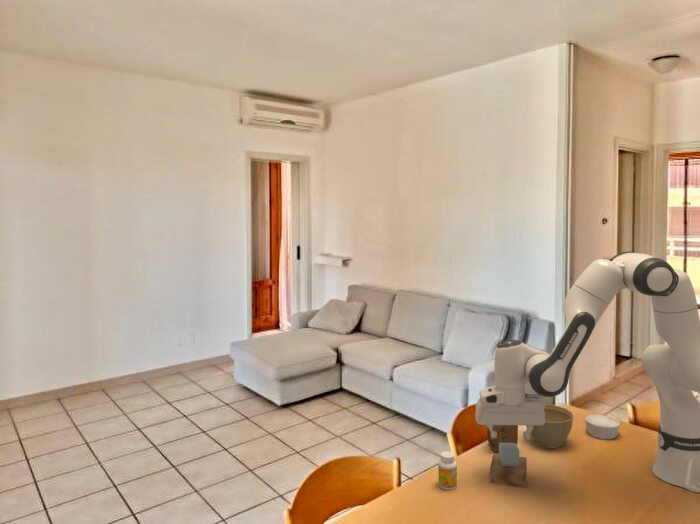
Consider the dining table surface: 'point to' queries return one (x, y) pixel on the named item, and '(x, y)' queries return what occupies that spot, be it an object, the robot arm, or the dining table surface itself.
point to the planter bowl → (553, 427)
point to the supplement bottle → (447, 471)
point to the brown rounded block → (503, 435)
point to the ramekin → (602, 426)
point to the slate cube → (508, 454)
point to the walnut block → (508, 472)
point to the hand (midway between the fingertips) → (510, 438)
